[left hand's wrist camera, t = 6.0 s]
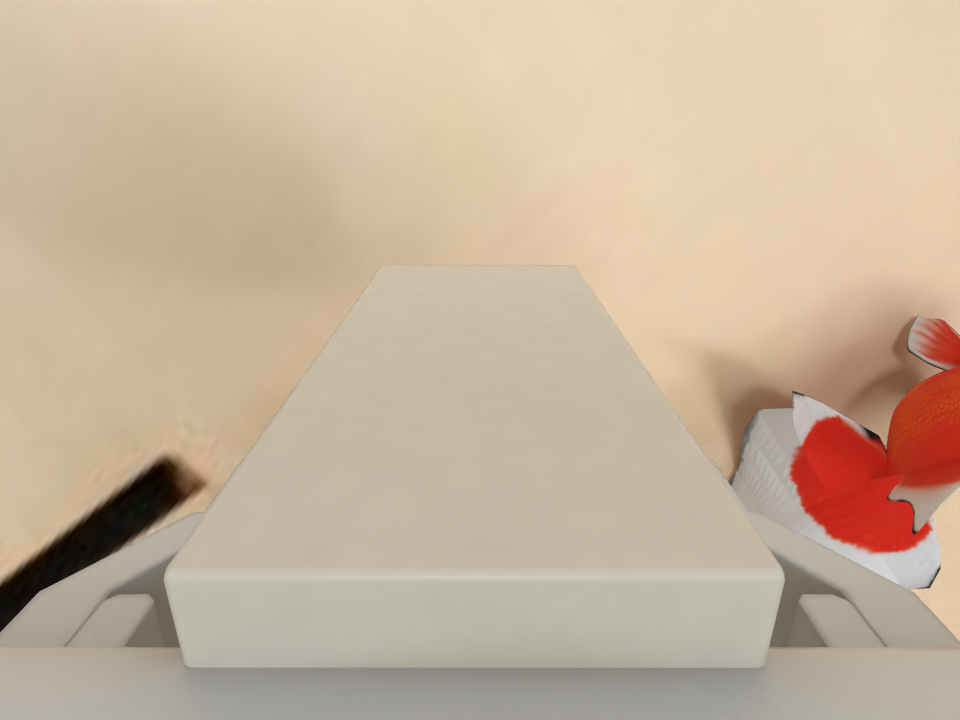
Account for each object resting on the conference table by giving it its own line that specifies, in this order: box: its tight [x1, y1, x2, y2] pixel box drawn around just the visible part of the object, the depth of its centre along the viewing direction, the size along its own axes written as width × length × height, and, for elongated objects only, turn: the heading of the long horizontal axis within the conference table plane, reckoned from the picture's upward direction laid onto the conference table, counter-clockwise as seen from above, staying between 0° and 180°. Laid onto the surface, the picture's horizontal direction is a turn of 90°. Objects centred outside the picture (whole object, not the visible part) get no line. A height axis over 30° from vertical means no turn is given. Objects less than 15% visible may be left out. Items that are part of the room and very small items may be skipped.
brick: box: [164, 265, 785, 668], centre depth 11 cm, size 5×5×11 cm
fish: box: [730, 316, 960, 590], centre depth 25 cm, size 11×16×10 cm
